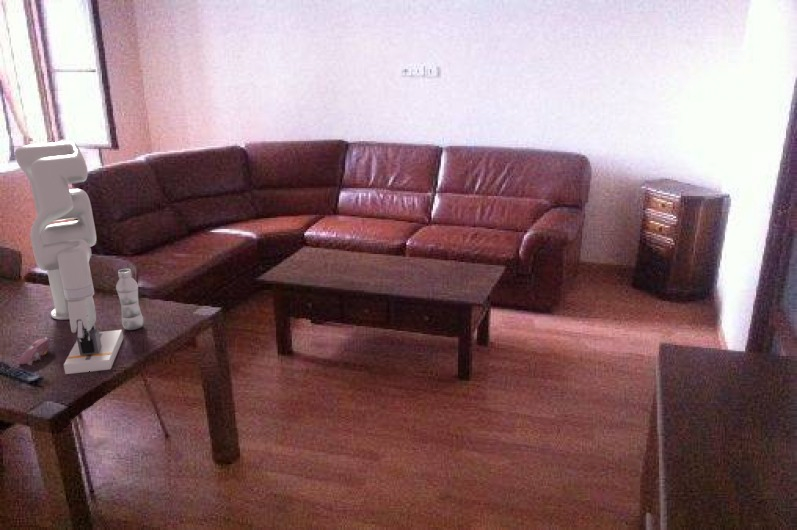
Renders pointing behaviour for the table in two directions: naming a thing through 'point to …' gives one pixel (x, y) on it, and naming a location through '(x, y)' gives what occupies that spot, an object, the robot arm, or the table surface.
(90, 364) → the fader console
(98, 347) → the fader tab
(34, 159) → the robot arm
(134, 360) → the table surface
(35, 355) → the pink toy car
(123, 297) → the plastic bottle
